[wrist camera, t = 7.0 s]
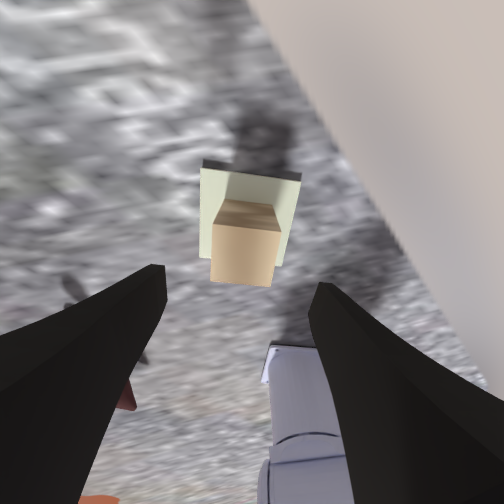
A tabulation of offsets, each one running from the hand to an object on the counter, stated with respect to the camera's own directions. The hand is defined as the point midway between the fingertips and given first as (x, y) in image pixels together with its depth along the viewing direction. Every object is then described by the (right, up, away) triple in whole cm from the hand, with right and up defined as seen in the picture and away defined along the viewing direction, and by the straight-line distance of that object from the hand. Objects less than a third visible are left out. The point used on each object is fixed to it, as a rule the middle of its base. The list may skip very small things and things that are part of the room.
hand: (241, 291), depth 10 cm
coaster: (0, +5, +9) cm, 10 cm away
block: (0, +4, +8) cm, 9 cm away
